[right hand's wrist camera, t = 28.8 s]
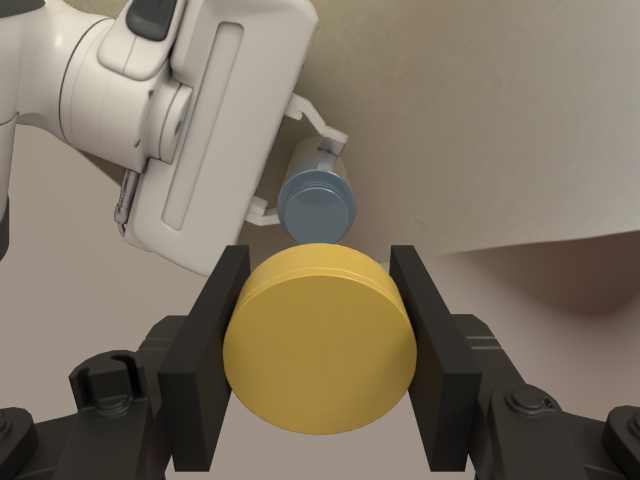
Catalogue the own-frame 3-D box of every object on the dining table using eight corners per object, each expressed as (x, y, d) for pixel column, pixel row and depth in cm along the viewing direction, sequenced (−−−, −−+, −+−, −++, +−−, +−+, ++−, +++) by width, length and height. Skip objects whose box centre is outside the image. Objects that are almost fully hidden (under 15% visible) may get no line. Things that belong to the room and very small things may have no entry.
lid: (233, 238, 11) (217, 269, 9) (413, 246, 11) (431, 278, 10) (238, 382, 13) (225, 432, 11) (393, 387, 13) (405, 438, 11)
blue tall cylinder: (348, 178, 36) (368, 245, 22) (300, 192, 37) (288, 267, 22) (334, 129, 35) (346, 165, 20) (284, 144, 35) (261, 190, 21)
